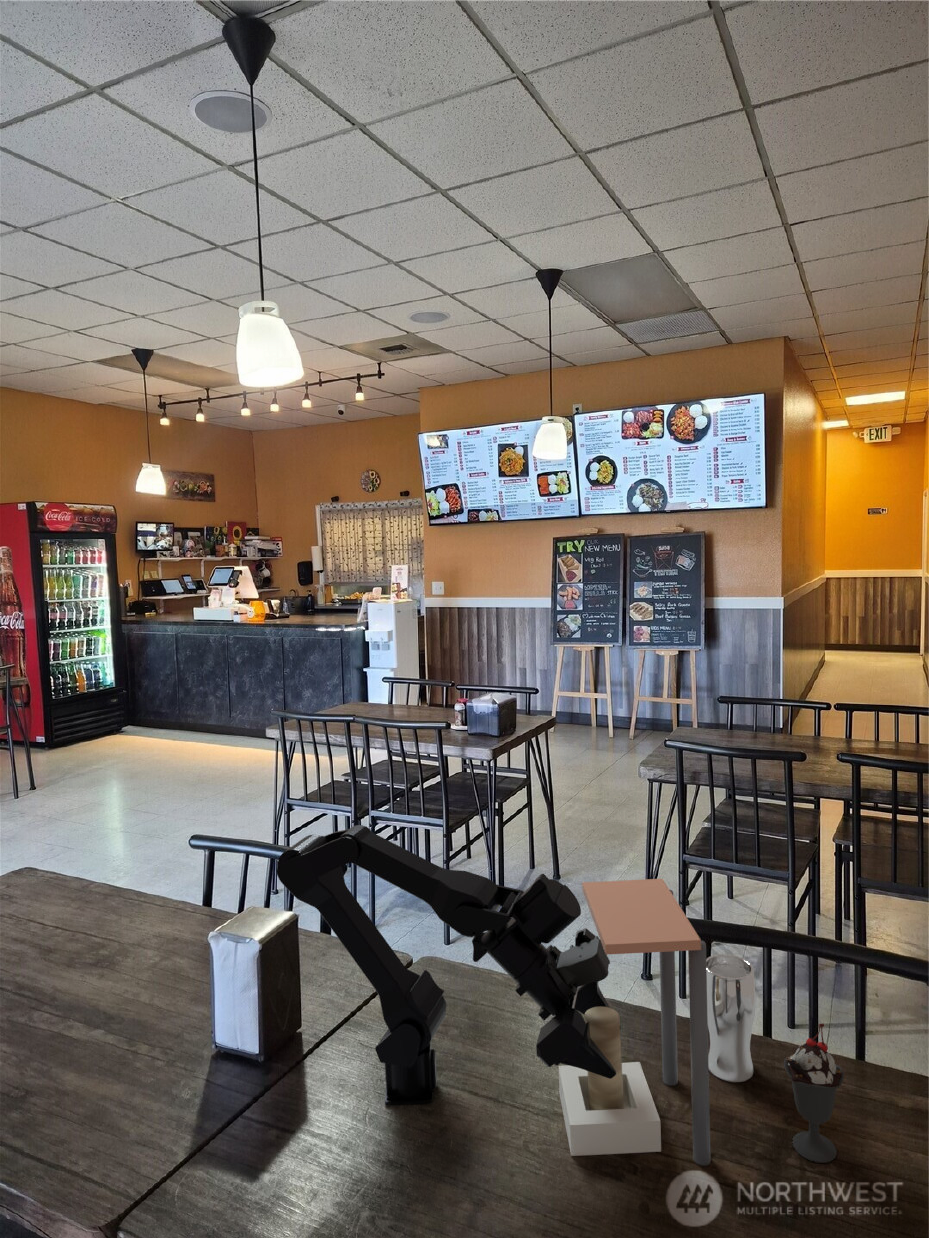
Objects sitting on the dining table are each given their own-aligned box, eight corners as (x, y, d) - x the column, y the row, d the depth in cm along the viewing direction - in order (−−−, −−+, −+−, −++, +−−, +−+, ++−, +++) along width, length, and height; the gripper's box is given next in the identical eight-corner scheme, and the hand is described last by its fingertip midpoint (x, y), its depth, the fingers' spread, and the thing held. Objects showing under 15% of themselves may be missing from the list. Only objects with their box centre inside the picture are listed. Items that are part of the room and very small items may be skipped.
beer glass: (760, 1087, 106) (759, 981, 105) (707, 1082, 107) (705, 977, 106) (752, 1054, 113) (750, 954, 111) (702, 1050, 114) (700, 951, 113)
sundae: (840, 1132, 97) (839, 1017, 96) (847, 1173, 91) (847, 1051, 90) (783, 1122, 99) (781, 1009, 98) (786, 1161, 93) (785, 1042, 92)
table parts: (574, 1175, 92) (566, 946, 90) (556, 1078, 109) (549, 883, 107) (714, 1168, 93) (709, 939, 90) (674, 1072, 109) (669, 878, 107)
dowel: (586, 1120, 100) (580, 1022, 99) (594, 1098, 104) (589, 1004, 103) (620, 1128, 98) (615, 1028, 97) (627, 1105, 102) (622, 1009, 101)
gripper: (560, 960, 91) (660, 1062, 89) (578, 891, 109) (662, 974, 107) (496, 1017, 93) (592, 1117, 92) (524, 940, 111) (605, 1023, 109)
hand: (616, 1051), depth 100 cm, fingers open, 9 cm apart
